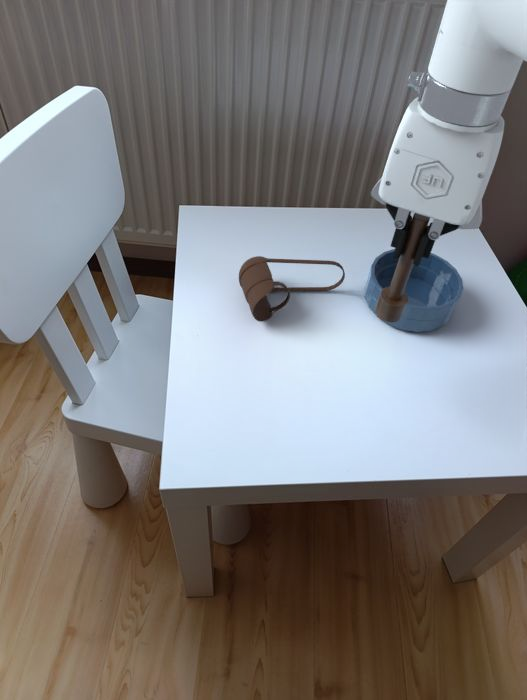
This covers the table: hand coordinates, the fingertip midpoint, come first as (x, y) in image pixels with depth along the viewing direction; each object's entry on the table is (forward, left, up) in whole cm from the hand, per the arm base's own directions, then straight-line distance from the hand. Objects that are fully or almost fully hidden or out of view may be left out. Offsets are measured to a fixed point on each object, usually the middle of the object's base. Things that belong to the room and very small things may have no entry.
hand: (408, 255), depth 63 cm
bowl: (-1, -20, -24) cm, 32 cm away
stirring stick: (0, 0, -10) cm, 10 cm away
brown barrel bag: (+17, -11, -24) cm, 32 cm away
